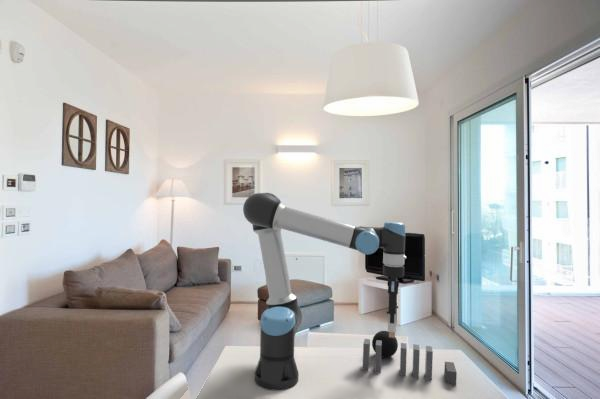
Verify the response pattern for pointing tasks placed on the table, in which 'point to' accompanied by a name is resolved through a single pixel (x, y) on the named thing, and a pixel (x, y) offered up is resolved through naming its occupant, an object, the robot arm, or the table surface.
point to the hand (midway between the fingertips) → (392, 328)
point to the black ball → (385, 343)
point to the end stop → (450, 373)
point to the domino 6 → (428, 363)
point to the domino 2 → (378, 356)
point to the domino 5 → (416, 361)
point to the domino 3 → (392, 334)
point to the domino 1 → (366, 354)
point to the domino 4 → (403, 359)
